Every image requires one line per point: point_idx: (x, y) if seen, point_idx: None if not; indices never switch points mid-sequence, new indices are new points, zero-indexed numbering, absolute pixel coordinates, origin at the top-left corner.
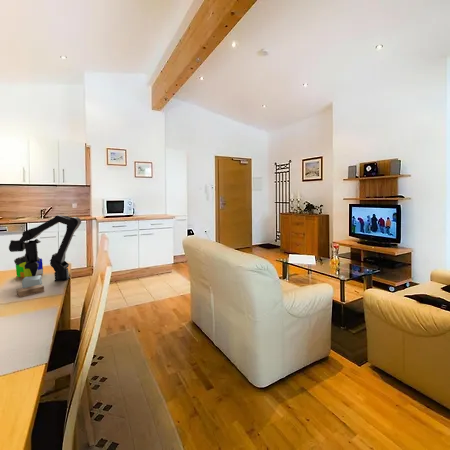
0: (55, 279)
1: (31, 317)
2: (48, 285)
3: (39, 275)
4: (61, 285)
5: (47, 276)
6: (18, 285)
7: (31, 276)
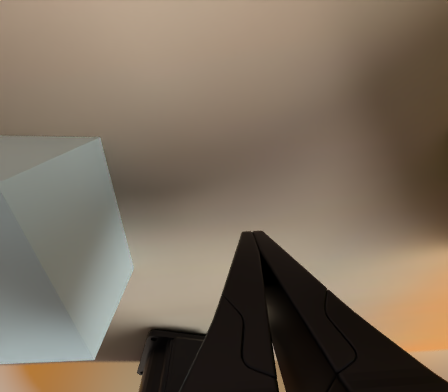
0: (169, 337)
1: None
2: None
3: (74, 350)
4: None
5: (339, 280)
6: (115, 39)
7: (31, 283)
